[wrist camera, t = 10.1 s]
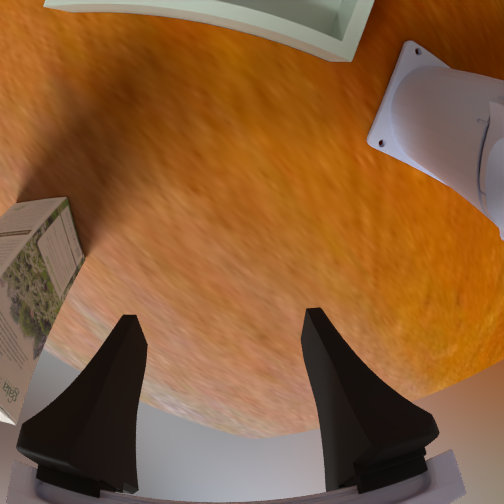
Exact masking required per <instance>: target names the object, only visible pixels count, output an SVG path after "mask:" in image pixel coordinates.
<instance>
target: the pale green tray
mask: <svg viewBox="0 0 504 504" xmlns="http://www.w3.org/2000/svg"><path fill="white" fill-rule="evenodd" d="M373 3H374V0H45V3H44V6H43V7H47V8H53V9H58V10H63V11H68V12H72V13H73V12H115V13H133V14H145V15H154V16H163V17H170V18H177V19H184V20H190V21H195V22H201V23H206V24H211V25H215V26H220V27H224V28H229V29H233V30H237V31H241V32H244V33H248V34H252V35H255V36H259V37H262V38H265V39H269V40H272V41H275V42H278V43H281V44H284V45H287V46H290V47H293V48H296V49H298V50H301V51H304V52H306V53H309V54H312V55H314V56H317V57H319V58H322V59H324V60H327V61H329V62H352V60H353V57H354V54H355V52H356V49H357V46H358V44H359V41H360V38H361V36H362V33H363V30H364V28H365V25H366V22H367V19H368V17H369V14H370V11H371V8H372V6H373Z"/></svg>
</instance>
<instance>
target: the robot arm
mask: <svg viewBox="0 0 504 504" xmlns="http://www.w3.org/2000/svg"><path fill="white" fill-rule="evenodd" d="M415 49H417V50H418V55H417V54H416V52H415ZM380 140H383V144H382V145H380V146H379V141H380ZM367 143H368V144H369V145H370V146H371V147H373V148H375V149H378V150H380V151H382V152H384V153H386V154H388V155H390V156H393V157H395V158H397V159H399V160H401V161H403V162H405V163H407V164H409V165H411V166H413V167H415V168H417V169H419V170H420V171H422V172H424V173H426V174H428V175H430V176H432V177H433V178H435V179H437V180H439V181H441V182H442V183H444V184H446V185H448V186H449V187H451V188H452V189H454V190H455V191H456V192H457V193H459V194H460V195H461V196H463V197H464V198H465V199H466V200H468V201H469V202H470V203H471V204H472V205H474V206H475V207H476V208H477V209H478V210H480V211H481V212H482V213H483V214H484V215H485V216H487V217H488V218H489V219H490V220H491V221H492V222H493V223H494V224H495V225H497V226H498V228H499V230H500V237H501V238H502V239H503V240H504V80H500V79H496V78H492V77H488V76H484V75H480V74H476V73H471V72H466V71H461V70H456V69H451V68H450V67H449V66H448V65H446V64H445V63H444V62H442V61H441V60H440V59H438V58H437V57H436V56H434V55H433V54H431V53H430V52H429V51H427V50H426V49H424V48H423V47H421V46H420V45H418V44H417V43H415V42H414V41H406V42H405V43H404V44H403V47H402V50H401V53H400V55H399V58H398V61H397V63H396V66H395V69H394V71H393V74H392V77H391V79H390V82H389V85H388V87H387V90H386V92H385V95H384V97H383V100H382V102H381V105H380V107H379V110H378V112H377V115H376V117H375V119H374V122H373V124H372V127H371V129H370V131H369V134H368V136H367ZM301 344H302V351H303V357H304V362H305V366H306V369H307V373H308V376H309V380H310V384H311V387H312V391H313V394H314V398H315V402H316V406H317V410H318V417H319V423H320V430H321V438H322V446H323V456H324V466H325V483H326V492H324V493H320V494H314V495H307V496H301V497H294V498H286V499H277V500H267V501H254V502H229V503H228V502H226V503H212V502H211V503H210V502H209V503H208V502H185V501H171V500H159V499H152V498H144V497H137V496H130V495H125V494H119V493H129V494H134V493H135V492H137V491H138V490H139V489H138V480H137V469H136V420H137V410H138V404H139V398H140V393H141V388H142V383H143V378H144V373H145V367H146V359H147V346H148V344H147V342H146V339H145V337H144V334H143V332H142V329H141V326H140V324H139V321H138V318H137V315H123V316H122V317H121V318H120V320H119V321H118V323H117V324H116V326H115V327H114V329H113V330H112V332H111V333H110V335H109V336H108V337H107V339H106V340H105V342H104V343H103V345H102V346H101V347H100V349H99V350H98V352H97V353H96V354H95V356H94V357H93V358H92V360H91V361H90V362H89V363H88V365H87V366H86V367H85V369H84V370H83V371H82V372H81V373H80V375H79V376H78V377H77V378H76V379H75V380H74V381H73V382H72V383H71V385H70V386H69V387H68V388H67V389H66V390H65V391H64V392H63V393H62V394H60V395H59V396H58V397H57V398H56V399H55V400H54V401H53V402H51V403H50V404H49V405H48V406H47V407H46V408H44V409H43V410H42V411H40V412H39V413H38V414H36V415H35V416H33V417H32V418H30V419H29V420H27V421H26V422H24V423H23V424H22V427H21V430H20V434H19V438H18V442H17V446H16V448H17V450H18V451H19V452H20V453H22V454H23V455H24V456H26V457H27V458H29V459H31V460H32V461H34V462H36V463H37V464H38V469H36V468H34V467H32V466H29V465H26V464H24V463H22V462H19V461H17V460H14V461H13V465H12V470H11V475H10V481H9V487H8V493H7V500H6V503H7V504H449V503H451V502H453V501H455V500H457V499H458V498H460V497H462V496H464V495H465V494H466V490H465V486H464V483H463V480H462V477H461V473H460V470H459V467H458V464H457V461H456V459H455V455H454V452H453V450H448V451H446V452H444V453H442V454H439V455H437V456H435V457H432V458H430V459H428V460H426V461H425V458H424V456H425V455H426V450H425V446H427V445H428V444H429V443H431V442H432V441H433V440H435V438H437V437H438V435H439V430H438V427H437V424H436V422H435V420H434V418H433V416H432V414H430V413H428V412H427V411H425V410H423V409H421V408H420V407H418V406H416V405H414V404H413V403H411V402H410V401H408V400H407V399H405V398H404V397H402V396H401V395H400V394H399V393H397V392H396V391H395V390H393V389H392V388H391V387H390V386H388V385H387V384H386V383H385V382H383V381H382V380H381V379H380V378H379V377H378V376H377V375H376V374H375V373H374V372H373V371H372V370H370V369H369V368H368V366H367V365H366V364H365V363H364V362H363V361H362V360H361V359H360V358H359V357H358V356H357V355H356V353H355V352H354V351H353V350H352V349H351V348H350V346H349V345H348V344H347V343H346V341H345V340H344V339H343V338H342V336H341V335H340V334H339V332H338V331H337V330H336V328H335V327H334V326H333V324H332V323H331V321H330V320H329V319H328V317H327V316H326V314H325V313H324V311H323V310H322V309H321V308H320V307H319V308H307V309H306V313H305V318H304V324H303V330H302V335H301ZM115 492H119V493H115Z"/></svg>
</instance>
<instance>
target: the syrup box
mask: <svg viewBox="0 0 504 504" xmlns="http://www.w3.org/2000/svg"><path fill="white" fill-rule="evenodd" d="M84 261H85V257H84V254H83V250H82V248H81V245H80V241H79V238H78V235H77V231H76V228H75V224H74V221H73V217H72V213H71V210H70V205H69V202H68V198H67V197H57V198H48V199H41V200H34V201H28V202H21V203H16V204H14V205H12V206H11V207H10V208H9V209H8V210H7V211H6V212H5V213H4V214H3V215H2V216H1V218H0V421H3V422H7V423H11V424H14V425H16V423H17V421H18V418H19V415H20V412H21V408H22V405H23V402H24V399H25V395H26V392H27V389H28V387H29V384H30V381H31V378H32V375H33V372H34V369H35V367H36V364H37V362H38V359H39V357H40V354H41V352H42V349H43V347H44V344H45V342H46V339H47V337H48V335H49V332H50V330H51V328H52V326H53V323H54V321H55V319H56V317H57V315H58V313H59V310H60V308H61V306H62V304H63V302H64V300H65V298H66V296H67V294H68V292H69V290H70V288H71V286H72V284H73V282H74V280H75V278H76V276H77V274H78V272H79V271H80V269H81V267H82V265H83V263H84Z"/></svg>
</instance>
